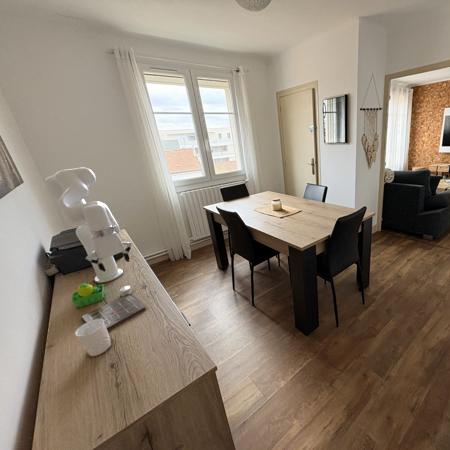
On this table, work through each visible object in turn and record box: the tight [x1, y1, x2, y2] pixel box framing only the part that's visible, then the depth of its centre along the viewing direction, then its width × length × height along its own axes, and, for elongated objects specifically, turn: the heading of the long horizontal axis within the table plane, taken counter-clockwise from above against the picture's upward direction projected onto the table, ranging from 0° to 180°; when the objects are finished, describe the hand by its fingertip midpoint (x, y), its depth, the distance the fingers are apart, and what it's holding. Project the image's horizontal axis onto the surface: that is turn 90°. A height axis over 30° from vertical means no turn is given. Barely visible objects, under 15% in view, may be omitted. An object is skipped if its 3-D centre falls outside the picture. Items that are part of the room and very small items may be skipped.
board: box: [81, 294, 146, 332], centre depth 104 cm, size 18×18×1 cm
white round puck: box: [119, 285, 133, 297], centre depth 117 cm, size 4×4×3 cm
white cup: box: [74, 319, 112, 357], centre depth 86 cm, size 8×8×10 cm
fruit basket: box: [70, 283, 105, 308], centre depth 111 cm, size 11×9×11 cm
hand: (116, 265), depth 112 cm, fingers open, 9 cm apart
